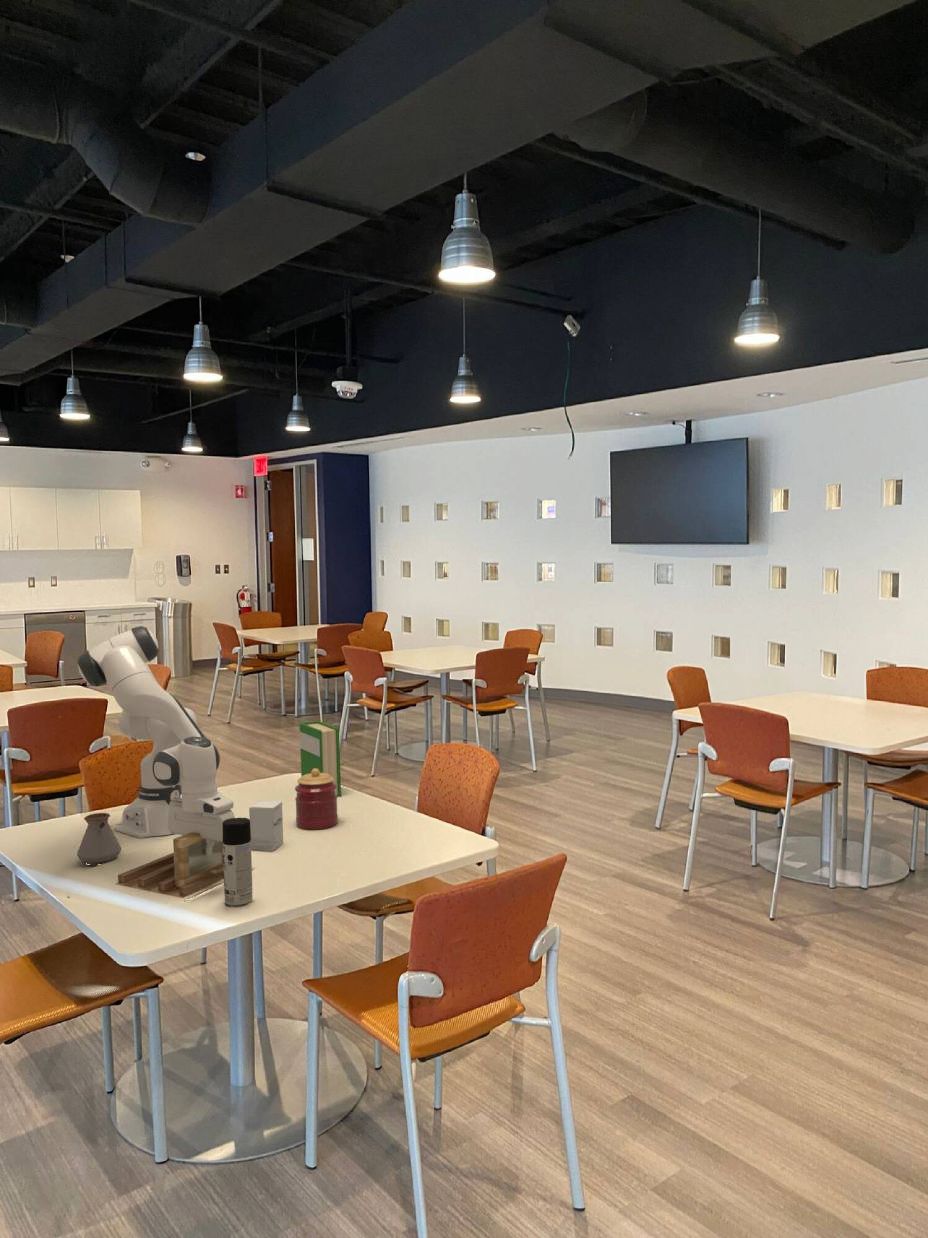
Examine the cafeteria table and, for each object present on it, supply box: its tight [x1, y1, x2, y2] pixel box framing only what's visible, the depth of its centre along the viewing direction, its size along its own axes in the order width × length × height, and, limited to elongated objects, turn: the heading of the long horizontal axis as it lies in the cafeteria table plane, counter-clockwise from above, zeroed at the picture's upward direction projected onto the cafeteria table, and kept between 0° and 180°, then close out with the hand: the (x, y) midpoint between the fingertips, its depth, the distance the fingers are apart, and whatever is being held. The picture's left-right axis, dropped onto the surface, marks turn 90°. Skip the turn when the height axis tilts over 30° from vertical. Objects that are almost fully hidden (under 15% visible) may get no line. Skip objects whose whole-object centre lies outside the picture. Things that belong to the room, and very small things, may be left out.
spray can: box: [223, 817, 253, 907], centre depth 221 cm, size 7×7×20 cm
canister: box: [294, 768, 339, 831], centre depth 284 cm, size 13×13×18 cm
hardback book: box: [299, 720, 342, 798], centre depth 322 cm, size 18×7×24 cm, turn 32°
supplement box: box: [248, 800, 284, 852], centre depth 263 cm, size 7×7×13 cm
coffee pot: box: [76, 812, 122, 865], centre depth 249 cm, size 21×12×15 cm, turn 27°
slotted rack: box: [115, 852, 224, 902], centre depth 238 cm, size 23×24×4 cm
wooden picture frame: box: [172, 832, 224, 887], centre depth 234 cm, size 3×16×12 cm, turn 152°
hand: (201, 854), depth 235 cm, fingers closed on wooden picture frame, 3 cm apart
